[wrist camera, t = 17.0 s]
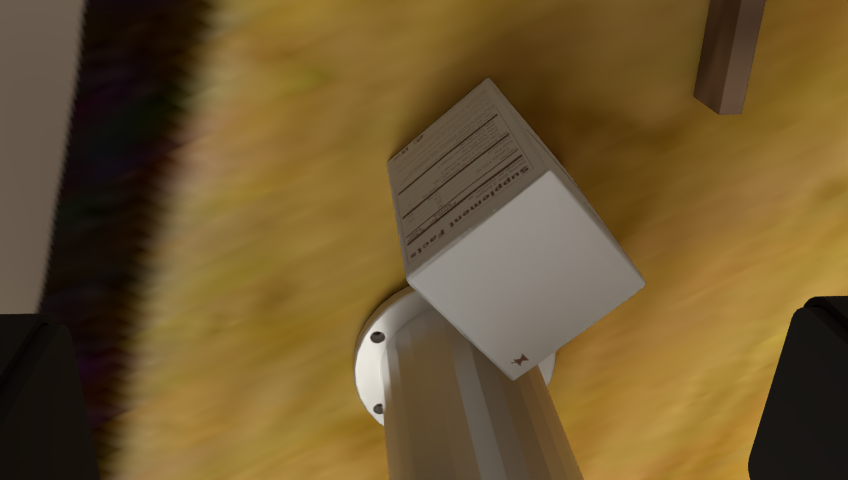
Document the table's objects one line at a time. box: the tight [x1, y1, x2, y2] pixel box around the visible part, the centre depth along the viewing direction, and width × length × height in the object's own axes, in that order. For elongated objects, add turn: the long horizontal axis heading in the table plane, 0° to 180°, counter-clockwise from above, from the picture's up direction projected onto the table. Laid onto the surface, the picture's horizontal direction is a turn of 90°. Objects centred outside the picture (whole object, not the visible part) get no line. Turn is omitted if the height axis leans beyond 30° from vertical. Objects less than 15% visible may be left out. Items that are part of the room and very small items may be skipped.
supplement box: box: [387, 78, 646, 380], centre depth 35 cm, size 7×7×13 cm
